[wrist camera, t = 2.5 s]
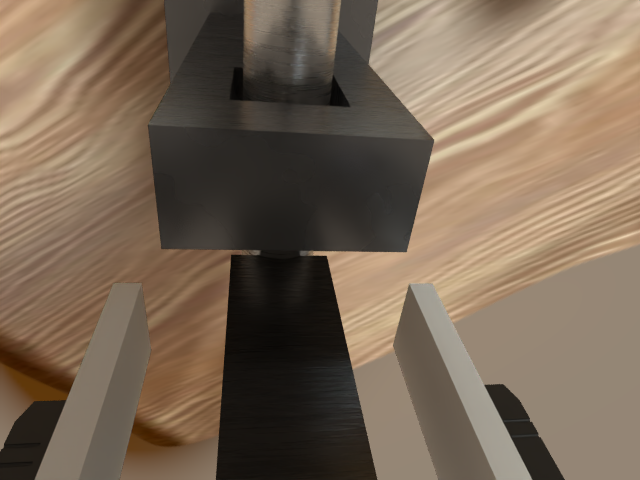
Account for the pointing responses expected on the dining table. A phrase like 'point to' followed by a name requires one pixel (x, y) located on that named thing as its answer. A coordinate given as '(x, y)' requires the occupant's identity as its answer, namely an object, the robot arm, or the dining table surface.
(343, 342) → the shaft
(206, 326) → the dining table surface
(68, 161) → the dining table surface
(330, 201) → the shaft stand
